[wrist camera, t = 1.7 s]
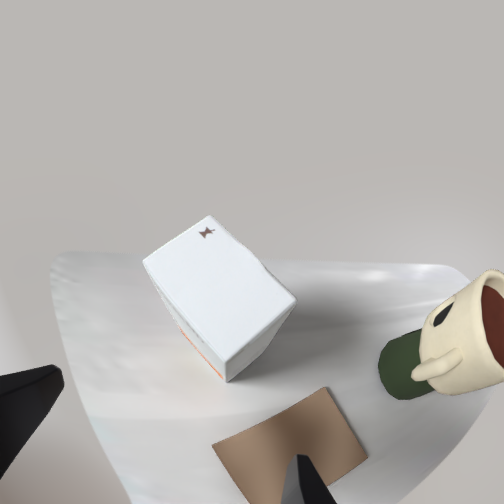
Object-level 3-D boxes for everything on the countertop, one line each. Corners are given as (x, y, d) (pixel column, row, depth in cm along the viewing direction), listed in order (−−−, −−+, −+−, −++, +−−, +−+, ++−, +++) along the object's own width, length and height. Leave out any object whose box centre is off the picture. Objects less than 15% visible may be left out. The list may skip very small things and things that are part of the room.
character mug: (426, 318, 24) (514, 253, 13) (447, 377, 20) (545, 336, 9) (342, 354, 21) (439, 293, 10) (365, 426, 18) (480, 421, 7)
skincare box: (178, 331, 22) (137, 257, 11) (217, 301, 23) (211, 209, 13) (226, 386, 19) (224, 366, 9) (266, 352, 21) (303, 297, 11)
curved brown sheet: (261, 516, 13) (261, 519, 13) (212, 444, 17) (211, 445, 16) (364, 456, 16) (368, 457, 16) (322, 387, 20) (324, 387, 19)
